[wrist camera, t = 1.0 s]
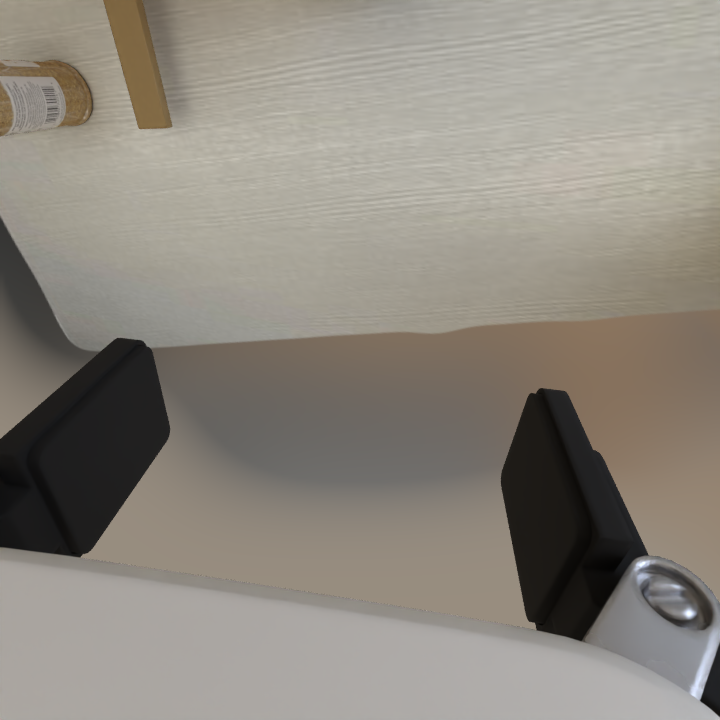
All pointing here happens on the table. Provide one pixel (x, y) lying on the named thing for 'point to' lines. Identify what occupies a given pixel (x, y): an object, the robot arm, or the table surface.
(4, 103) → the sprinkles bottle
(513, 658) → the robot arm
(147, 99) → the pan handle
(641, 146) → the table surface
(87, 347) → the table surface
